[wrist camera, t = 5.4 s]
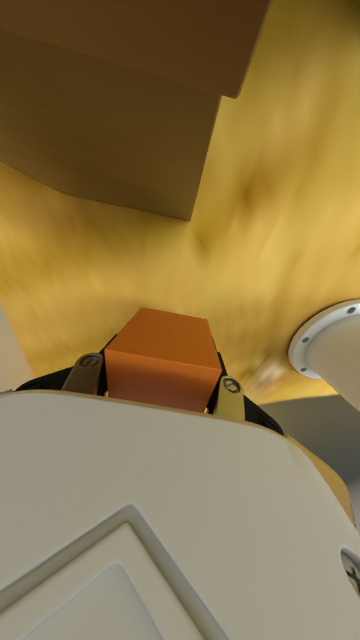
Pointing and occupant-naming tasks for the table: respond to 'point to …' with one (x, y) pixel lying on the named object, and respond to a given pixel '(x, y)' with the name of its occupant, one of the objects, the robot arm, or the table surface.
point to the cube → (163, 361)
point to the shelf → (121, 93)
